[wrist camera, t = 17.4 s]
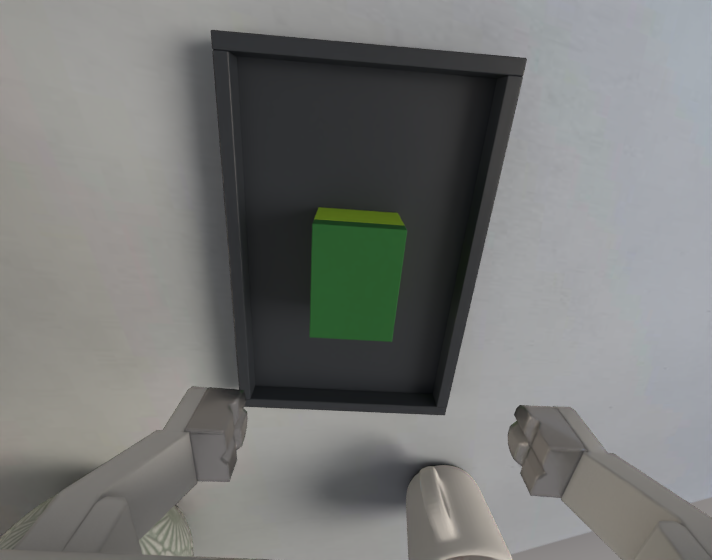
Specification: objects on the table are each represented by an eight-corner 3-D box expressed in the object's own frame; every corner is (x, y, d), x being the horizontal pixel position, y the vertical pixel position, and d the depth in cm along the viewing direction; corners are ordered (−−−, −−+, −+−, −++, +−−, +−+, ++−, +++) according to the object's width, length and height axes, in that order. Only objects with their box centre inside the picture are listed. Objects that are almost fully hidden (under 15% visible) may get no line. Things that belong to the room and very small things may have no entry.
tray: (224, 39, 19) (210, 29, 17) (510, 64, 19) (527, 57, 17) (247, 387, 28) (240, 406, 26) (438, 396, 29) (445, 415, 27)
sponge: (318, 207, 22) (312, 223, 18) (397, 212, 22) (407, 230, 18) (315, 306, 25) (309, 337, 21) (385, 310, 25) (392, 342, 21)
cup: (374, 447, 31) (382, 546, 24) (461, 421, 30) (497, 516, 23) (412, 518, 35) (428, 621, 28) (489, 498, 34) (528, 599, 27)
